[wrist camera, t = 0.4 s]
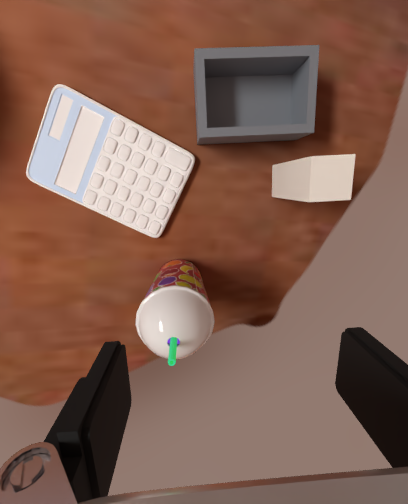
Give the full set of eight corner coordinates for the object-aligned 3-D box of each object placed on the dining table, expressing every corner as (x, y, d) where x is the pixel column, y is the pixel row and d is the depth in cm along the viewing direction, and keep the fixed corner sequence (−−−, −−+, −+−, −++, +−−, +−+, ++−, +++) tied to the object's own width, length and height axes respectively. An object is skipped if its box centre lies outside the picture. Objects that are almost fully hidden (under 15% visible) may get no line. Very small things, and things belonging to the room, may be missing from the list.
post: (272, 165, 37) (311, 156, 25) (302, 163, 37) (355, 154, 25) (271, 196, 38) (309, 202, 26) (301, 195, 38) (350, 199, 26)
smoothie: (191, 308, 42) (194, 415, 23) (144, 288, 40) (105, 384, 21) (214, 265, 40) (239, 340, 21) (166, 243, 39) (144, 301, 19)
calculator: (159, 239, 39) (158, 241, 37) (29, 178, 36) (20, 178, 34) (197, 157, 36) (198, 156, 34) (60, 83, 33) (52, 77, 31)
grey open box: (193, 70, 33) (194, 48, 28) (298, 67, 34) (319, 45, 28) (197, 144, 35) (199, 137, 30) (295, 140, 36) (314, 132, 31)
